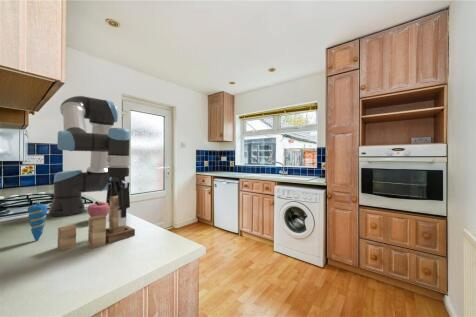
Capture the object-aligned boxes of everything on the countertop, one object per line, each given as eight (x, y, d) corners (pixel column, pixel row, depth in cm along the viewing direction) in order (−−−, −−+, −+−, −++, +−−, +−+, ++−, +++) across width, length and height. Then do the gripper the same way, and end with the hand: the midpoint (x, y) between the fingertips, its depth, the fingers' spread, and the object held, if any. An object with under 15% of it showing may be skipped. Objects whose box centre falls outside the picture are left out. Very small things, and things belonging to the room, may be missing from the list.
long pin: (109, 236, 79) (110, 196, 79) (119, 233, 83) (120, 195, 83) (113, 238, 77) (114, 197, 77) (124, 235, 80) (125, 196, 80)
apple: (110, 221, 98) (111, 200, 98) (89, 225, 92) (89, 203, 92) (106, 216, 104) (106, 197, 104) (85, 220, 98) (86, 200, 98)
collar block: (98, 236, 79) (98, 230, 79) (123, 230, 86) (123, 224, 86) (108, 243, 73) (109, 236, 73) (134, 235, 81) (134, 229, 81)
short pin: (57, 247, 69) (58, 227, 69) (72, 243, 72) (72, 224, 72) (61, 250, 67) (61, 230, 67) (75, 246, 70) (76, 226, 70)
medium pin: (88, 245, 71) (88, 217, 71) (100, 241, 74) (101, 215, 74) (92, 248, 69) (93, 219, 69) (105, 244, 72) (106, 217, 72)
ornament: (24, 244, 70) (25, 202, 70) (29, 239, 75) (30, 199, 75) (44, 241, 73) (45, 201, 73) (48, 236, 78) (49, 198, 78)
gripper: (97, 165, 83) (96, 220, 83) (120, 168, 71) (119, 232, 71) (116, 165, 89) (115, 216, 89) (141, 167, 77) (139, 226, 77)
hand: (117, 223), depth 80 cm, fingers open, 8 cm apart
